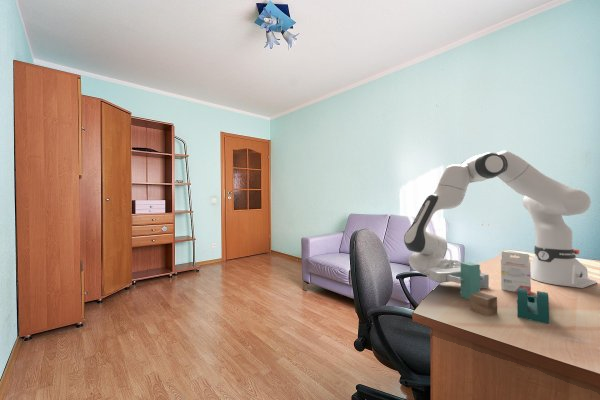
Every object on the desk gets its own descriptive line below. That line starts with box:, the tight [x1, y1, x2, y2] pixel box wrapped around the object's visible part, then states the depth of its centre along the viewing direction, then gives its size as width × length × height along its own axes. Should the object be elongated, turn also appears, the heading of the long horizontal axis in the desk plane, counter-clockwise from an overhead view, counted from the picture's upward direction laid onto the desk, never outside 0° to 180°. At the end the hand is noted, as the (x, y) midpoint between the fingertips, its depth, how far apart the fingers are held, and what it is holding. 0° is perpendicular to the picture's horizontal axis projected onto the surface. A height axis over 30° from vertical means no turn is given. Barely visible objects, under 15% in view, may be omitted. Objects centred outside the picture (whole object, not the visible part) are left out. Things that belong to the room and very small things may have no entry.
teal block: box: [460, 261, 481, 301], centre depth 91 cm, size 4×4×12 cm
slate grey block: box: [480, 272, 490, 289], centre depth 104 cm, size 5×5×5 cm
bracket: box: [516, 288, 550, 325], centre depth 81 cm, size 18×7×8 cm, turn 139°
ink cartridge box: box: [500, 251, 532, 295], centre depth 98 cm, size 9×5×15 cm, turn 47°
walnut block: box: [469, 291, 498, 317], centre depth 80 cm, size 5×5×5 cm
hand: (472, 279), depth 91 cm, fingers open, 8 cm apart
